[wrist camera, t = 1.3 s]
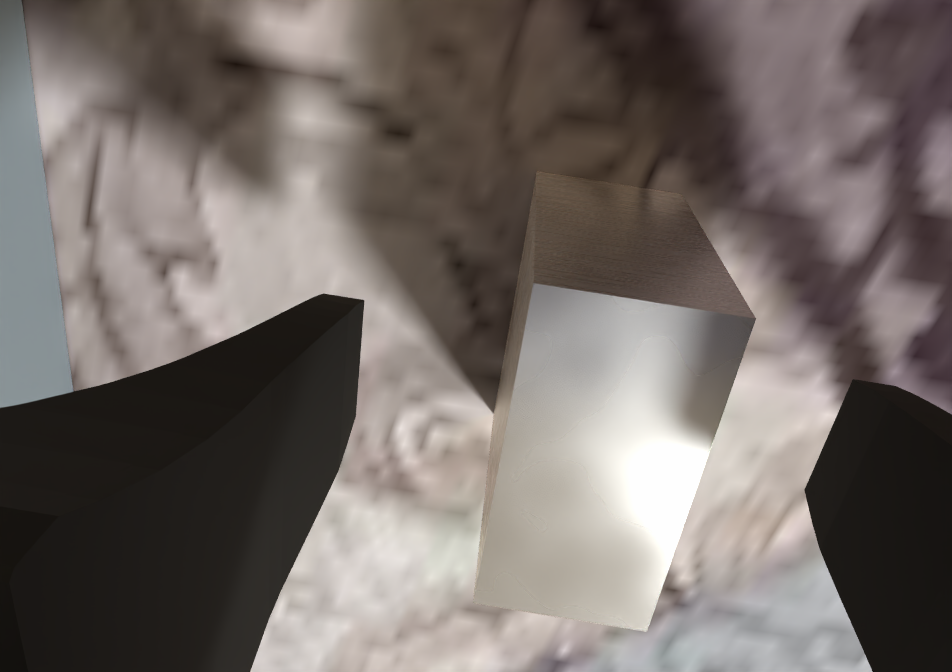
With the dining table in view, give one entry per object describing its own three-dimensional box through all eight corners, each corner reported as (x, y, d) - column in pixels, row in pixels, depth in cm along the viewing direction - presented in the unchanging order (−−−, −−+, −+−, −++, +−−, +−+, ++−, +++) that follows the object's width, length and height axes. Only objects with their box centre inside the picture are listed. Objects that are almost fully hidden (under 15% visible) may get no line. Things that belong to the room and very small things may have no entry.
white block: (615, 432, 15) (647, 631, 10) (493, 412, 15) (473, 603, 10) (681, 193, 13) (755, 318, 8) (537, 170, 13) (533, 283, 8)
